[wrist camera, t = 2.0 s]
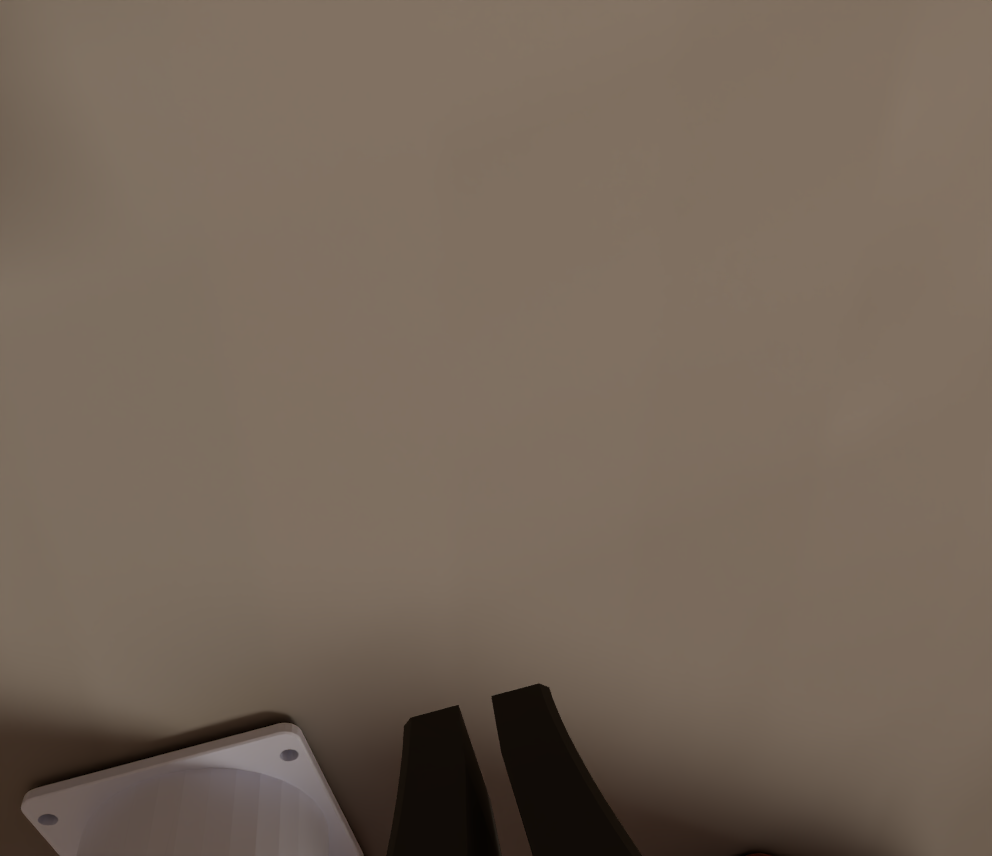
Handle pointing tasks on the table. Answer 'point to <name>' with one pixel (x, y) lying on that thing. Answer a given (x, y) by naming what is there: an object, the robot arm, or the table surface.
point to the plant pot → (759, 854)
